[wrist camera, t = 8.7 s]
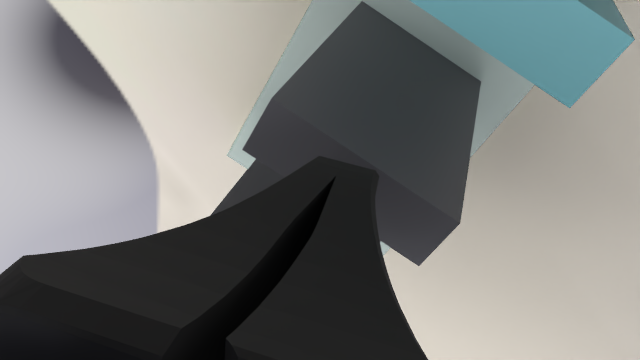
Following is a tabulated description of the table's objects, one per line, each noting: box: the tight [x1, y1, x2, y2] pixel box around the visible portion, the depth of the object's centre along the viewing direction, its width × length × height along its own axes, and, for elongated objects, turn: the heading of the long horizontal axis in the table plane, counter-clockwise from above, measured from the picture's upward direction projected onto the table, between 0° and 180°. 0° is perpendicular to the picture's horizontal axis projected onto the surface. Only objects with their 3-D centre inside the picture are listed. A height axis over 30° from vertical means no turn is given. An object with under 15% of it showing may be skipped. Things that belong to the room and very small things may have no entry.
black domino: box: [242, 1, 481, 266], centre depth 17 cm, size 2×5×9 cm, turn 61°
